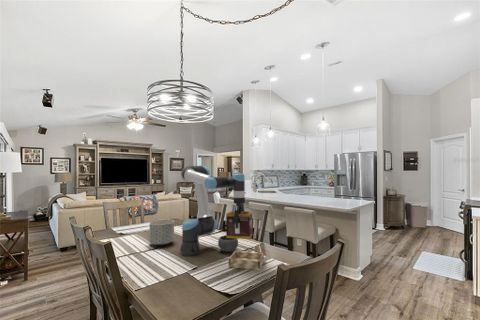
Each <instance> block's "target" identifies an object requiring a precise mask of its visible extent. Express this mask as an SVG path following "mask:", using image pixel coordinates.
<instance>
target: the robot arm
mask: <svg viewBox="0 0 480 320" xmlns="http://www.w3.org/2000/svg"><path fill="white" fill-rule="evenodd" d="M180 174H181V175H180V176H181V178H182V179H183V180H184V181H187V182H192V184H193V185H195V193H196V194H195V195H196V201H197V208H198V209H197V210H198V217H197V218H190V219H189V218H188V219H186V220H185V221H183V222H182V227H181V228H182V229H181V230H182V235H181V236H182V238H181V239H182V241H181V242H182V243H181V245H180V249H179V254H180V255H181V256H185V257H186V256H188V257H189V256H190V257H192V256H196V255H199V254H200V253H202V248H201V244H200V242H199V238H200V237H202V236H207V235H211V234H213V233H215V232H216V230H217V227H218V225H217V220H216V219H215V218H214V217H213V215H212V214H211V211H210V203H209V195H208V190H217V189H228V188H231V189H232V191H233V204H235V206H234V207H233V208H234V211H235V212H234V222H233V223H235V233H236V234H239V233H240V228H239V216H238V215H239V214H240V213H241V212H243V211H245V203H246V196H245V195H246V192H245V191H246V190H245V189H246V185H245V182H246V179H245V174H244V173H233V174H232V176H227V175H226V176H212V175H211V173H210V169H209V168H208V166H205V165H188V166H185V167H184V168H182V169H181V173H180Z"/></svg>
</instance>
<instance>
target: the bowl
mask: <svg viewBox="0 0 480 320" xmlns="http://www.w3.org/2000/svg"><path fill="white" fill-rule="evenodd" d="M217 242H218V243H217V245H218V247H219V249H220V250H221V251H223V252H226V253H227V252H228V253H230V252H235V251H236V249H237V248H238V246H239V240H238V238H226V234H225V235H221V236H220V237H219V238H218V241H217Z"/></svg>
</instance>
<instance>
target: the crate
mask: <svg viewBox="0 0 480 320" xmlns="http://www.w3.org/2000/svg"><path fill="white" fill-rule="evenodd" d="M264 262H265V253H264V252H254V251H243V250H241V251H240V250H234V251H233V253H232V254H231V255H230V256H229V257H228V268H236V269H237V268H238V269H244V268H245V269H244V270H253V269H254V271H261V269H262V266H263V264H264Z"/></svg>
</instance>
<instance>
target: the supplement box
mask: <svg viewBox="0 0 480 320" xmlns="http://www.w3.org/2000/svg"><path fill="white" fill-rule="evenodd" d="M234 212H235V210H230V211H229V212H227V213H226V215H225V217H226V220H225V221H226V224H225V226H226V234H225V235H226V238H237V239H241V240H243V239H244V240H250V239H251V238H252V236H253V211H249V210H247V211H245V210H244V211H243V212H241V213H240V214H239V215H238V216H239V228H240V233H239V234H236V233H235V223H233V222H234Z"/></svg>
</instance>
